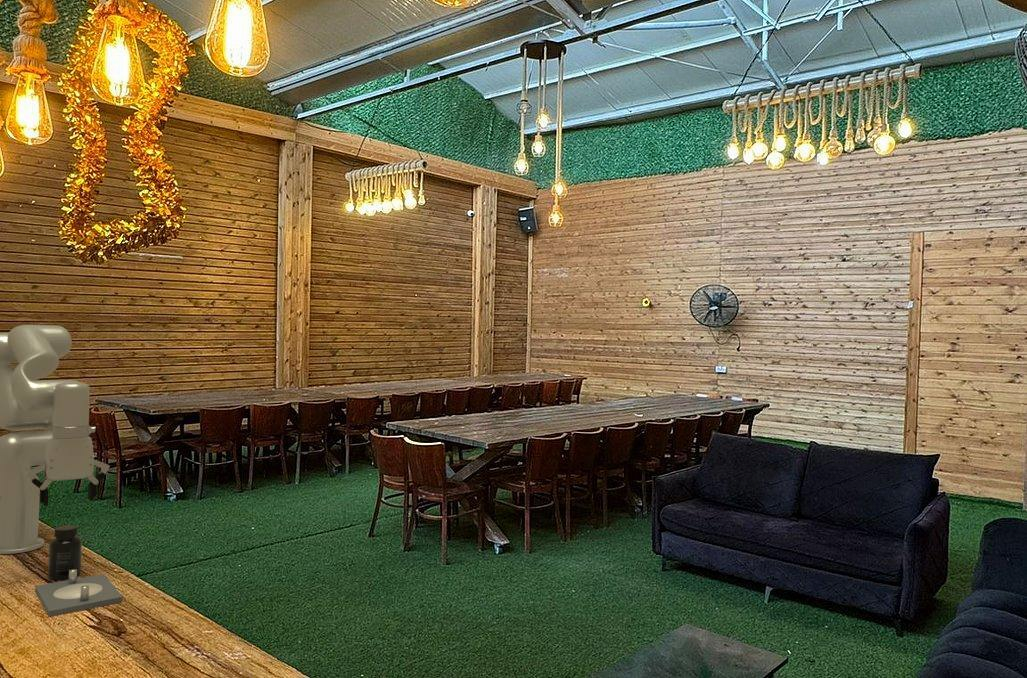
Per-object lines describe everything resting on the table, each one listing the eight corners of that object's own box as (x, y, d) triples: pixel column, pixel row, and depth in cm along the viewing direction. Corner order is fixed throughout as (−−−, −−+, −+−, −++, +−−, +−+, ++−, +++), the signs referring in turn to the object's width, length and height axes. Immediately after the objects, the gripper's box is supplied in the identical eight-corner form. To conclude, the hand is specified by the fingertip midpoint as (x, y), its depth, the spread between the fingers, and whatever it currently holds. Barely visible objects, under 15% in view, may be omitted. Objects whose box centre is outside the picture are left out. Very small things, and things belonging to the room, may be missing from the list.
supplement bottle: (87, 572, 176) (89, 525, 176) (67, 582, 169) (69, 532, 169) (61, 570, 177) (63, 523, 176) (40, 579, 170) (42, 530, 170)
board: (35, 590, 163) (35, 572, 163) (103, 578, 172) (104, 561, 172) (48, 616, 150) (49, 597, 150) (122, 602, 159) (122, 583, 159)
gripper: (106, 429, 181) (104, 495, 181) (25, 433, 169) (23, 504, 169) (113, 432, 175) (111, 500, 175) (30, 437, 164) (28, 510, 164)
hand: (68, 502), depth 172 cm, fingers open, 9 cm apart
